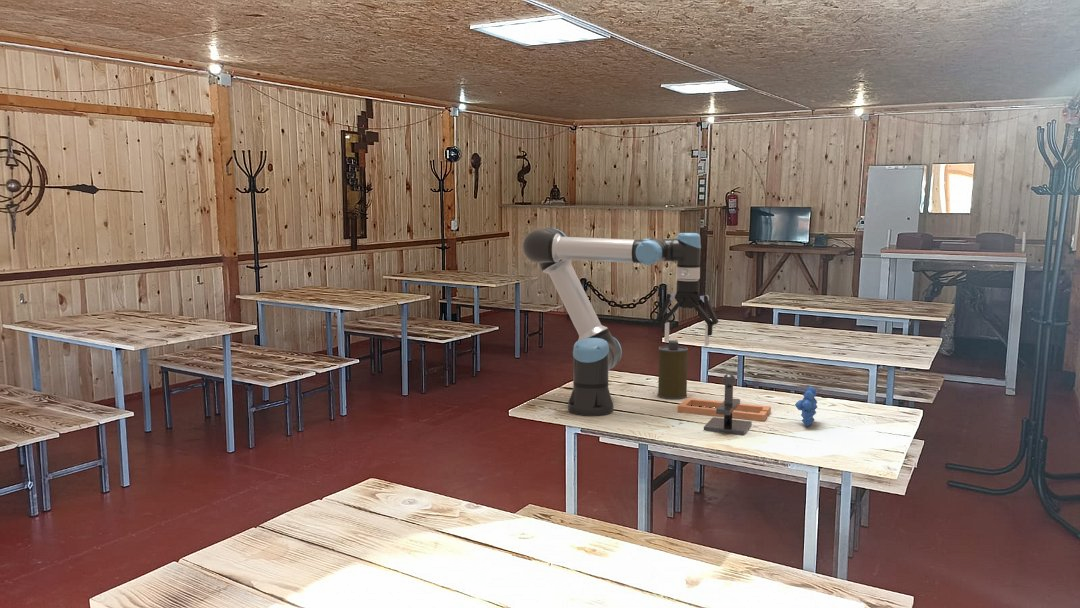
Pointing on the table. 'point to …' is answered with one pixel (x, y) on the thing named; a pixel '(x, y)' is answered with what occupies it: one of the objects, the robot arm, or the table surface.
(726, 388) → the stand
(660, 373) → the canister
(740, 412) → the link
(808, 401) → the grapes
